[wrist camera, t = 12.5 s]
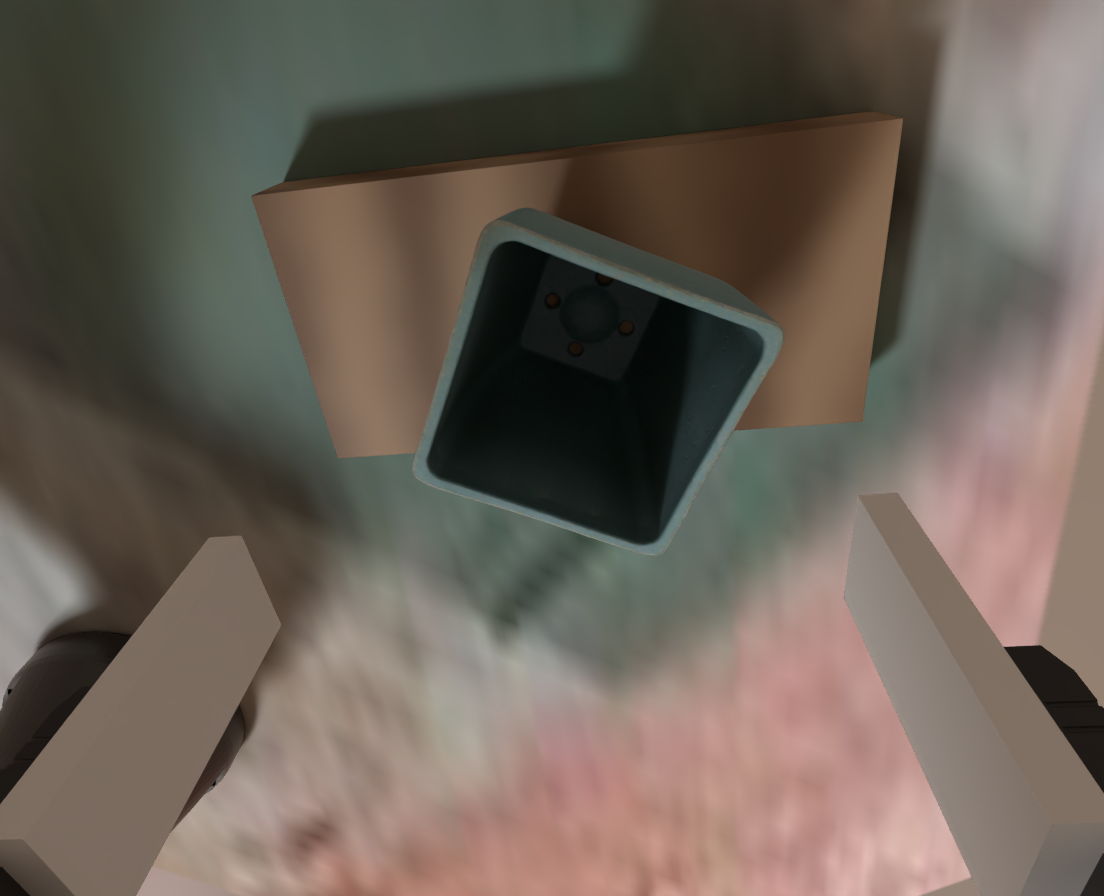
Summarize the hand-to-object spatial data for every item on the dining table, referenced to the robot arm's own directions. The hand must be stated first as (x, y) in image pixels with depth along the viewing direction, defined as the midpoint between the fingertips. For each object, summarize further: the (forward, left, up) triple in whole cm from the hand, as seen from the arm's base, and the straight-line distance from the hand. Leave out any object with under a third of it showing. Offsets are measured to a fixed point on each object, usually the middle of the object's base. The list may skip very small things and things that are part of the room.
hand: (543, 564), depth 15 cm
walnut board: (0, 0, -18) cm, 18 cm away
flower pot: (+1, 0, -16) cm, 16 cm away
